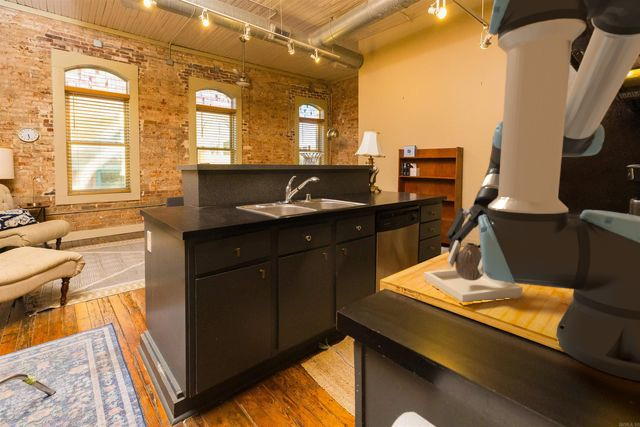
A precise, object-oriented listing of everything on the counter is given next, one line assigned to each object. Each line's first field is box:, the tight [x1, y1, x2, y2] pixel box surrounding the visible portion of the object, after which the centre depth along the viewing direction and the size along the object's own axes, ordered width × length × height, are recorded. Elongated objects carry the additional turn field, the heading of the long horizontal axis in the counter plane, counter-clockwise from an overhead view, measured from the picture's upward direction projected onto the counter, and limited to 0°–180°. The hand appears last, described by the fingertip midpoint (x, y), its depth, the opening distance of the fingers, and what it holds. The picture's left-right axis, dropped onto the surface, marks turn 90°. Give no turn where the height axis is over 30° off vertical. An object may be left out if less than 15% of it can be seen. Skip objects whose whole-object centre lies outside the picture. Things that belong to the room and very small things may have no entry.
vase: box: [454, 242, 483, 281], centre depth 80 cm, size 7×7×9 cm
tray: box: [423, 268, 524, 302], centre depth 81 cm, size 16×16×2 cm
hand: (464, 267), depth 78 cm, fingers closed on vase, 7 cm apart
